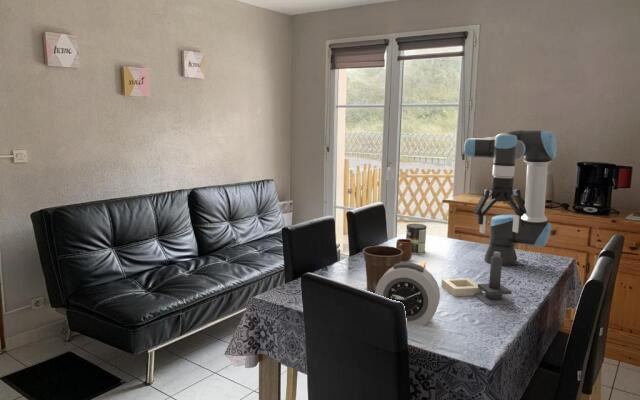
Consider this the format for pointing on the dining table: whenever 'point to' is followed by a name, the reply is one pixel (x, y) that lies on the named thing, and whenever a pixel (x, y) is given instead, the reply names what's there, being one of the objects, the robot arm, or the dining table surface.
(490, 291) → the plug
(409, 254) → the mug
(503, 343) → the dining table surface
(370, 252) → the plant pot
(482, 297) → the mat
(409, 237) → the coffee can
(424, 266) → the orange lever handle
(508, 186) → the robot arm
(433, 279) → the alarm clock
